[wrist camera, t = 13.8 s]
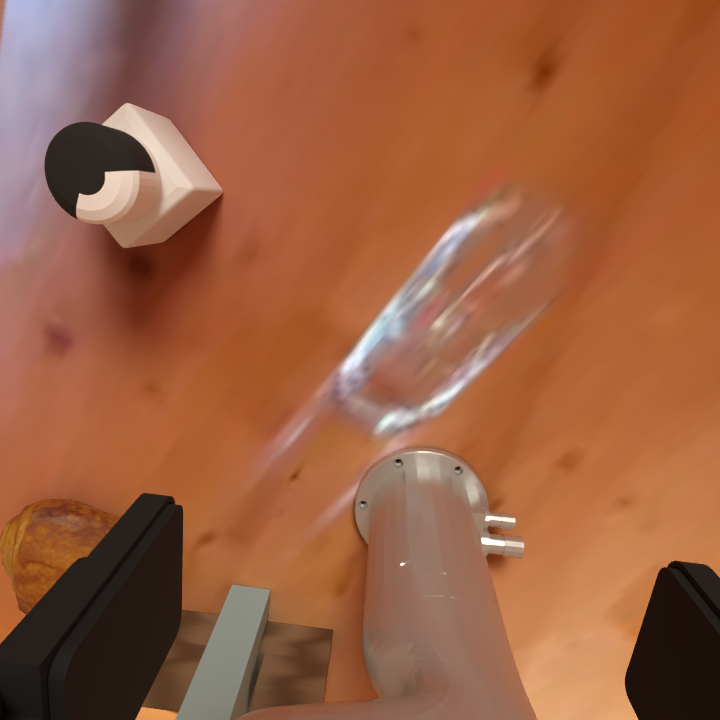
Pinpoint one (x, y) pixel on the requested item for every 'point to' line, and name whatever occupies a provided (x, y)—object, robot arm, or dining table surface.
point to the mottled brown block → (275, 664)
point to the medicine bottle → (129, 176)
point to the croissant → (49, 544)
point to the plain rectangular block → (229, 659)
